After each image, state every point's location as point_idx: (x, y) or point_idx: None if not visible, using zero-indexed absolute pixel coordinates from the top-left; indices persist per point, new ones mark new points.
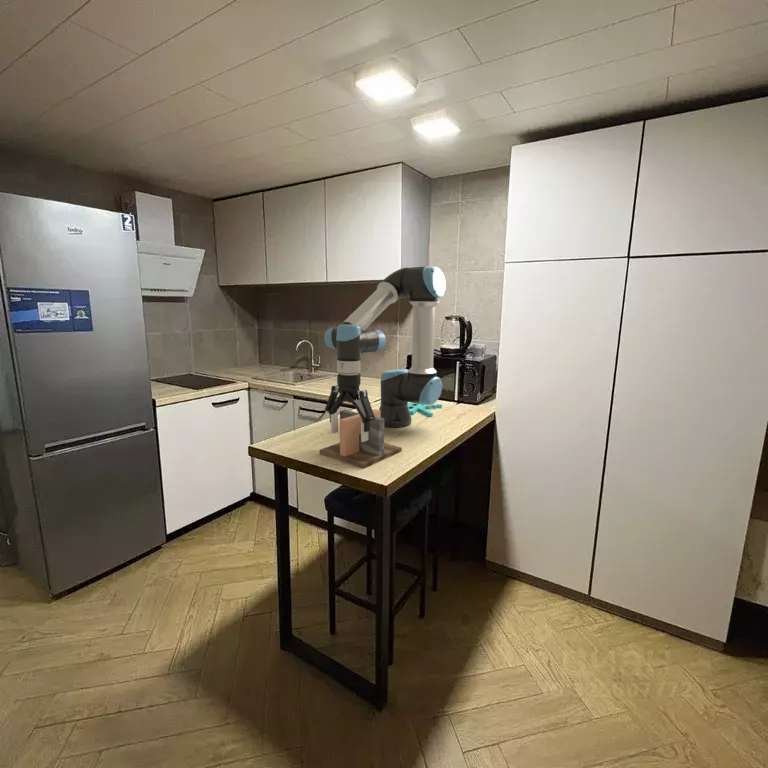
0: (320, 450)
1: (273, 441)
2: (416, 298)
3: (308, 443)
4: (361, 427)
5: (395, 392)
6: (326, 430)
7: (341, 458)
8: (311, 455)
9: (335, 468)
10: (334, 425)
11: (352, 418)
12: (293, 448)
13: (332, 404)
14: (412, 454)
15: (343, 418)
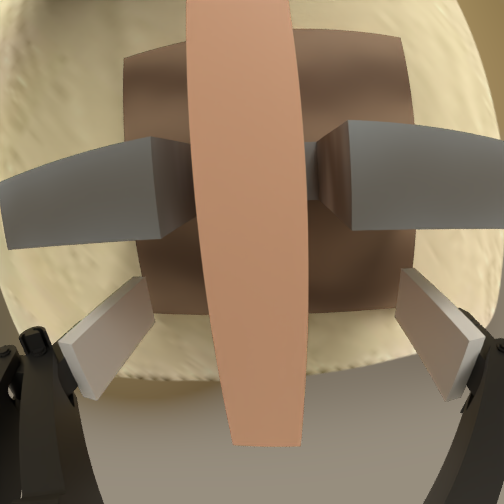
0: (155, 311)
1: (13, 307)
2: None
3: (52, 253)
4: (432, 371)
5: None
6: (4, 121)
7: None
8: (153, 331)
9: (316, 360)
10: (130, 331)
11: (298, 378)
12: (70, 318)
13: (9, 407)
14: (441, 54)
15: (228, 417)
